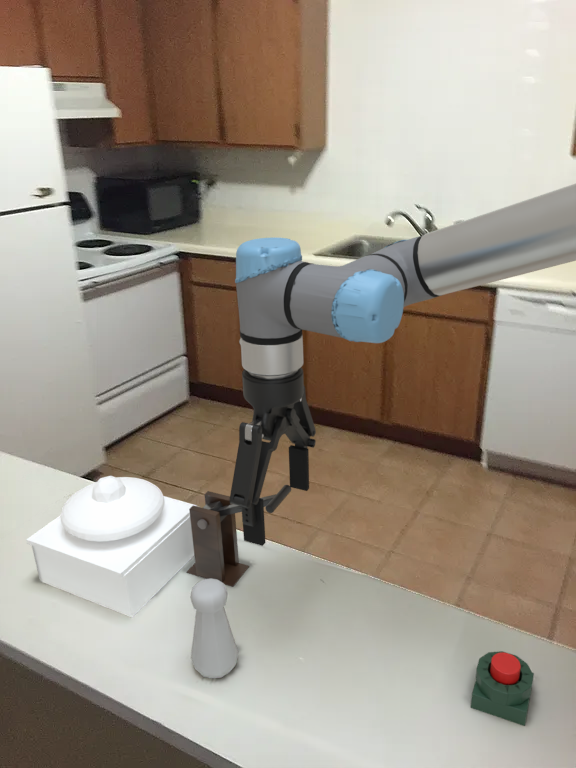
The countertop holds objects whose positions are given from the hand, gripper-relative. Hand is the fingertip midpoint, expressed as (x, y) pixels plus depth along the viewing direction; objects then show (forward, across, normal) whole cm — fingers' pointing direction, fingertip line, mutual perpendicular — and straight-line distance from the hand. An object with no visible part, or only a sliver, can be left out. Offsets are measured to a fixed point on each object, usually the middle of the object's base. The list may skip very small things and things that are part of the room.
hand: (278, 513), depth 90 cm
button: (+10, +5, +31) cm, 33 cm away
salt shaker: (+14, +16, -2) cm, 21 cm away
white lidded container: (+14, +5, -25) cm, 29 cm away
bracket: (+14, 0, -10) cm, 17 cm away
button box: (+14, +6, +32) cm, 35 cm away
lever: (+2, 0, -5) cm, 5 cm away
